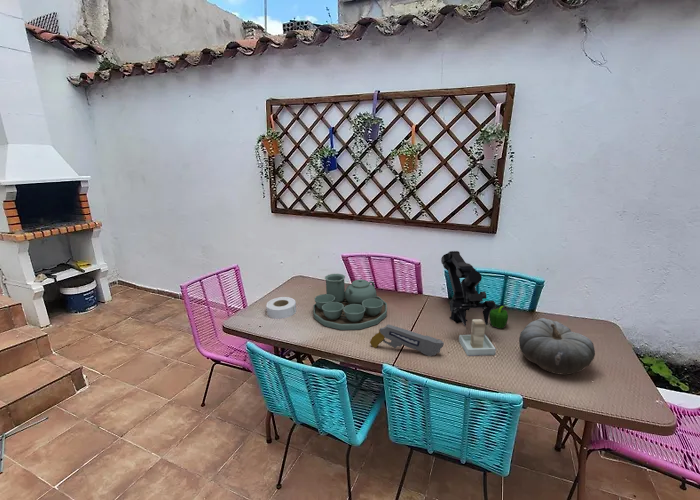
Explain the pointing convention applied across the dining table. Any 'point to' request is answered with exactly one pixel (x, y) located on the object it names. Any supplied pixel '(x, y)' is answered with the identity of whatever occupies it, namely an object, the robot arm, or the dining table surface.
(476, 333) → the handle block
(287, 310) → the roll of tape
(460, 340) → the tray
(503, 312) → the bell pepper
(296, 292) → the dining table surface
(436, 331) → the dining table surface
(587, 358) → the gourd
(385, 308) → the tea set
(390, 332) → the gun
